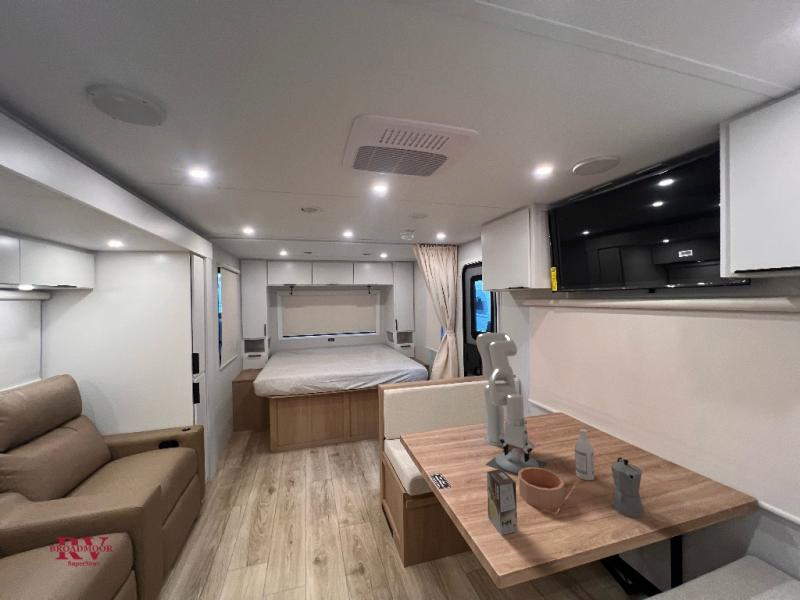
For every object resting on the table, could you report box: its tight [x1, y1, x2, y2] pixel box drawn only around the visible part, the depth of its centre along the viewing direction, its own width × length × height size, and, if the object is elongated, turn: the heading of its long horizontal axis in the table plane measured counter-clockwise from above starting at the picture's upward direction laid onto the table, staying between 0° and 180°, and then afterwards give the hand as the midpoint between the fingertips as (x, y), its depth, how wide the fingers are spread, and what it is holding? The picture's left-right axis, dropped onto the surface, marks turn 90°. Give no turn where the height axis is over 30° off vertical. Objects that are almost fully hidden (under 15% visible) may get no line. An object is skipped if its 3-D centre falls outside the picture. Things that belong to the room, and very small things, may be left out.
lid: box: [494, 448, 539, 474], centre depth 144 cm, size 19×19×6 cm
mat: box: [485, 450, 548, 478], centre depth 144 cm, size 21×21×1 cm
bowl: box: [517, 467, 566, 510], centre depth 120 cm, size 16×16×7 cm
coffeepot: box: [610, 457, 644, 519], centre depth 112 cm, size 15×9×18 cm, turn 159°
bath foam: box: [574, 428, 595, 481], centre depth 133 cm, size 7×7×20 cm
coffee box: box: [486, 469, 518, 536], centre depth 105 cm, size 9×6×16 cm
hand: (516, 457), depth 144 cm, fingers open, 9 cm apart
